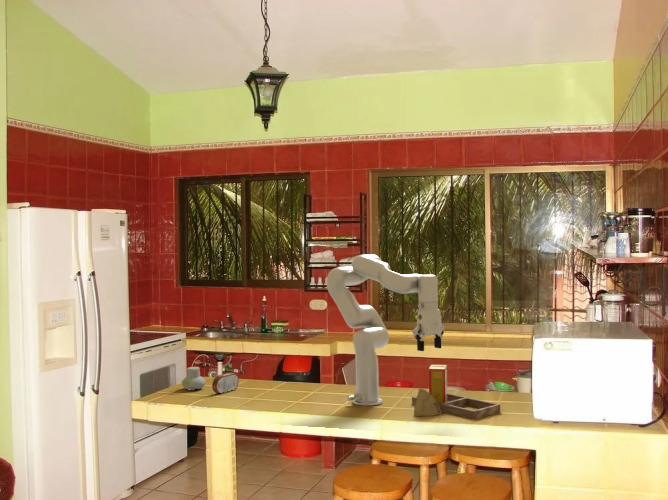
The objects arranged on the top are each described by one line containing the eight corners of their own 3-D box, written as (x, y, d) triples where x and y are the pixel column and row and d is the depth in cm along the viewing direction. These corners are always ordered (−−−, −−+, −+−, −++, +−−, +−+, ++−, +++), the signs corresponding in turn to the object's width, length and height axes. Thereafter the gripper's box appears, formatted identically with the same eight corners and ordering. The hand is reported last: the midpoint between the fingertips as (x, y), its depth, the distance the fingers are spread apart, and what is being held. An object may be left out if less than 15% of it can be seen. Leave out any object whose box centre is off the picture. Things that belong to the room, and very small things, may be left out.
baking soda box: (445, 407, 285) (444, 368, 285) (429, 406, 287) (428, 367, 286) (447, 401, 294) (446, 364, 294) (431, 401, 296) (431, 363, 296)
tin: (235, 388, 326) (234, 370, 326) (240, 389, 324) (239, 371, 324) (211, 394, 314) (211, 376, 314) (216, 395, 312) (216, 377, 312)
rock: (445, 406, 277) (421, 400, 281) (443, 392, 272) (419, 386, 276) (437, 427, 270) (412, 421, 274) (435, 413, 265) (410, 407, 269)
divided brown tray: (474, 419, 266) (474, 411, 266) (412, 404, 291) (411, 396, 291) (500, 412, 276) (500, 404, 276) (438, 397, 301) (437, 391, 301)
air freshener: (179, 388, 328) (179, 367, 328) (195, 386, 333) (194, 365, 333) (192, 392, 320) (191, 370, 320) (207, 389, 325) (207, 368, 325)
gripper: (419, 308, 266) (420, 353, 266) (450, 304, 277) (451, 347, 277) (405, 307, 272) (407, 350, 272) (436, 303, 283) (437, 346, 283)
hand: (429, 349), depth 275 cm, fingers open, 9 cm apart
